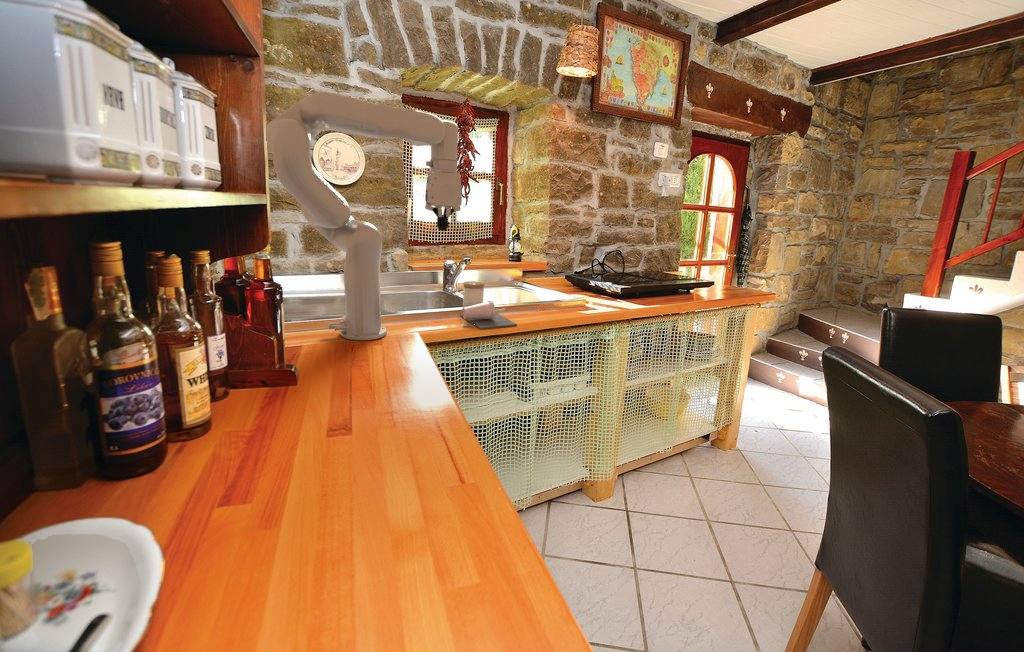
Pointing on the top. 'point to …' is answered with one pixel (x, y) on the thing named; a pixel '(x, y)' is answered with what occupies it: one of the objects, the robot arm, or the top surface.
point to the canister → (472, 293)
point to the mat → (491, 322)
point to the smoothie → (480, 311)
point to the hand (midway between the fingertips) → (442, 230)
